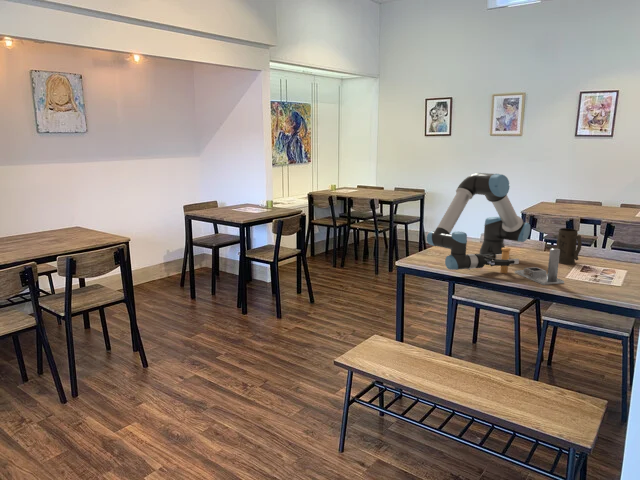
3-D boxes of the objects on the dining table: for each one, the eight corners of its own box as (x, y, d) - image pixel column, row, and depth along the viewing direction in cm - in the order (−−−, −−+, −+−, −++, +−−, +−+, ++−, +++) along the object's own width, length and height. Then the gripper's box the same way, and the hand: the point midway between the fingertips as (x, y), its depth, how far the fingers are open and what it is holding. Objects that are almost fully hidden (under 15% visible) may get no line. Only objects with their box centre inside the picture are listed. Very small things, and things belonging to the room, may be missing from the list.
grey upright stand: (514, 272, 248) (517, 241, 244) (534, 271, 251) (537, 240, 247) (543, 285, 226) (547, 250, 223) (565, 283, 229) (568, 249, 225)
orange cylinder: (497, 271, 250) (499, 247, 248) (505, 270, 251) (507, 247, 249) (502, 273, 246) (504, 249, 243) (510, 273, 247) (512, 249, 244)
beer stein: (549, 260, 273) (554, 228, 268) (561, 258, 278) (566, 226, 272) (572, 268, 260) (579, 234, 255) (584, 266, 265) (591, 232, 260)
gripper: (462, 262, 255) (499, 260, 260) (486, 273, 233) (525, 271, 238) (463, 249, 253) (500, 247, 258) (487, 259, 232) (526, 256, 237)
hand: (512, 258), depth 248 cm, fingers open, 10 cm apart
